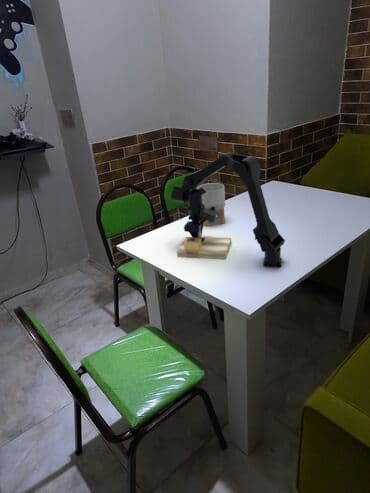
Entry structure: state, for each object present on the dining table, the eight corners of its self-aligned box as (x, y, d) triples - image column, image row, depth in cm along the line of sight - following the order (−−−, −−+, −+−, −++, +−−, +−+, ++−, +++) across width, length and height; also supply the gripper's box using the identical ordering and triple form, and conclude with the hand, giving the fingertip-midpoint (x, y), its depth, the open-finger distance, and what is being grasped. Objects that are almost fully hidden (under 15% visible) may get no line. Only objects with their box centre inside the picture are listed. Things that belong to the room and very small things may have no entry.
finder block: (198, 250, 139) (197, 242, 137) (184, 250, 140) (183, 241, 139) (201, 245, 143) (200, 237, 141) (187, 244, 145) (187, 236, 143)
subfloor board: (225, 259, 135) (225, 253, 134) (177, 256, 141) (176, 251, 140) (231, 243, 147) (231, 237, 146) (186, 241, 153) (186, 236, 152)
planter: (230, 218, 171) (229, 184, 163) (217, 228, 162) (214, 192, 155) (209, 215, 179) (206, 181, 171) (194, 224, 170) (191, 189, 162)
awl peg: (201, 246, 147) (200, 229, 144) (195, 246, 148) (194, 229, 144) (202, 243, 149) (201, 227, 146) (197, 243, 150) (195, 227, 147)
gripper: (209, 212, 130) (212, 249, 137) (219, 196, 146) (221, 229, 153) (181, 212, 133) (185, 247, 140) (194, 196, 149) (197, 228, 156)
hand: (198, 238), depth 147 cm, fingers open, 6 cm apart
